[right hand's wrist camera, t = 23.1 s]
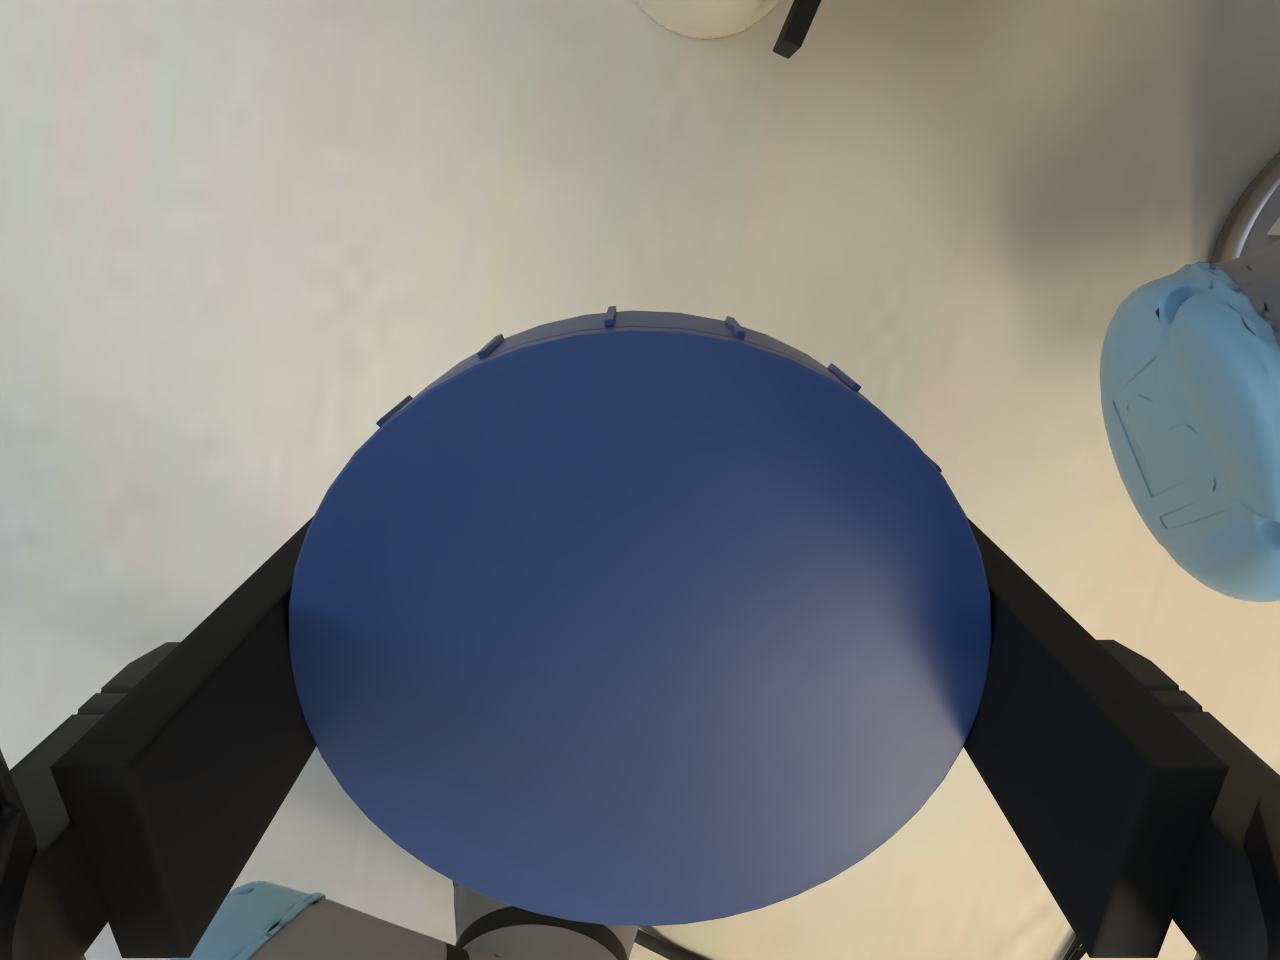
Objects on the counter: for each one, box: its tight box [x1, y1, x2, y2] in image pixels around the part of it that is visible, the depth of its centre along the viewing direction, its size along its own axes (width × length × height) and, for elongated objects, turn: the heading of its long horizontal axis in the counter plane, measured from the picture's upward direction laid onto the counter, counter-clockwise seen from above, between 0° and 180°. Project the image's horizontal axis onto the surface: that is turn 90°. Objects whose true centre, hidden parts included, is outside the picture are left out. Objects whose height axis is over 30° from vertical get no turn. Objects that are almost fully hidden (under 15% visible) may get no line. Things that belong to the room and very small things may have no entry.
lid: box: [289, 306, 992, 926], centre depth 11 cm, size 10×10×2 cm
